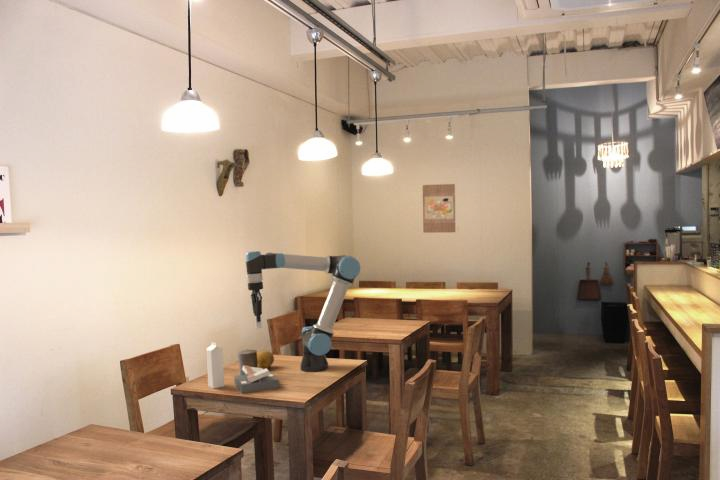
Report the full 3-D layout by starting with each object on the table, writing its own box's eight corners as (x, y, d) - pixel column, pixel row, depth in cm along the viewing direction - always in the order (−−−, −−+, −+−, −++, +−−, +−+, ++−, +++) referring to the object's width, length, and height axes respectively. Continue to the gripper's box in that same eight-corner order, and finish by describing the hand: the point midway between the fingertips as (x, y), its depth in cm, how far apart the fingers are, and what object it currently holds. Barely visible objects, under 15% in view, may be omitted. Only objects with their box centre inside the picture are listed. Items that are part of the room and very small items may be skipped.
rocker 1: (261, 372, 305) (262, 367, 305) (263, 374, 300) (264, 369, 301) (242, 369, 301) (243, 365, 301) (243, 371, 297) (244, 367, 297)
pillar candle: (261, 375, 315) (260, 347, 315) (251, 380, 306) (249, 351, 306) (246, 374, 319) (245, 346, 319) (235, 379, 311) (233, 350, 310)
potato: (253, 371, 325) (252, 353, 325) (257, 366, 338) (256, 348, 337) (272, 370, 325) (271, 352, 325) (275, 365, 338) (274, 347, 337)
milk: (213, 388, 294) (210, 344, 293) (208, 386, 299) (205, 342, 298) (224, 386, 297) (222, 342, 297) (219, 384, 302) (217, 340, 302)
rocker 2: (264, 374, 299) (264, 370, 299) (266, 376, 295) (267, 372, 295) (244, 372, 296) (245, 367, 296) (246, 374, 291) (247, 369, 291)
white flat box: (267, 371, 294) (266, 367, 293) (269, 374, 289) (268, 369, 289) (248, 380, 290) (246, 376, 290) (250, 382, 285) (248, 378, 285)
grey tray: (269, 379, 307) (269, 369, 307) (279, 387, 290) (278, 377, 290) (234, 384, 301) (234, 374, 301) (241, 393, 283) (241, 382, 283)
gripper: (244, 281, 308) (248, 327, 309) (251, 283, 296) (254, 330, 297) (258, 280, 311) (262, 325, 312) (265, 281, 299) (269, 328, 300)
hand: (258, 327), depth 305 cm, fingers closed
